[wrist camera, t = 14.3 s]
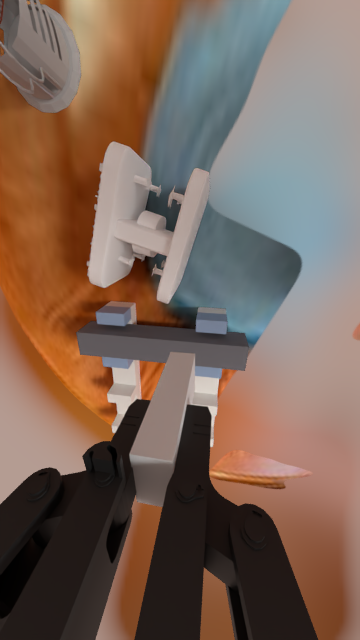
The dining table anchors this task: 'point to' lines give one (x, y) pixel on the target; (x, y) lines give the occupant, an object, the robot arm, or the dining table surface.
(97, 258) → the cable organizer
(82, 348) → the dark gray bar
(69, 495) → the robot arm
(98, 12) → the dining table surface
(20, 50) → the french press
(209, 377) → the white notched holder
